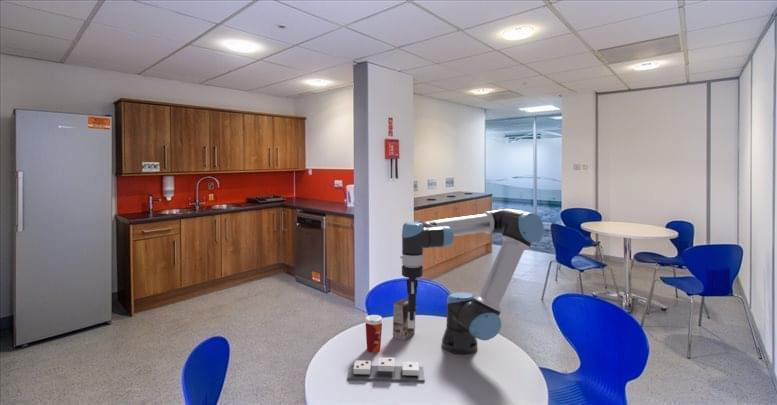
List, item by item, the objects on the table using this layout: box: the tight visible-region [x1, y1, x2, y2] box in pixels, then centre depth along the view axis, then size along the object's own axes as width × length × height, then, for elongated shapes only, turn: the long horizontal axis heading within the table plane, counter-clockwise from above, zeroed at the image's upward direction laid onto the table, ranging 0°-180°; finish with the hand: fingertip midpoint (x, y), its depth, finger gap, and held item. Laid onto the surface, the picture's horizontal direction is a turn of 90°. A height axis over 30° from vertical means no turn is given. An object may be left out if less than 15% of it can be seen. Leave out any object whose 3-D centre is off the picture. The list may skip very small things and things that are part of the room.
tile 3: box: [353, 359, 372, 374], centre depth 144 cm, size 6×6×2 cm
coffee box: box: [392, 297, 416, 341], centre depth 176 cm, size 9×6×16 cm
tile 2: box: [377, 356, 396, 371], centre depth 144 cm, size 6×6×2 cm
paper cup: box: [364, 314, 384, 354], centre depth 162 cm, size 8×8×14 cm
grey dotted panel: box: [347, 364, 426, 383], centre depth 144 cm, size 28×9×1 cm, turn 88°
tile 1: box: [401, 361, 420, 376], centre depth 144 cm, size 6×6×2 cm
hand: (411, 327), depth 142 cm, fingers closed
